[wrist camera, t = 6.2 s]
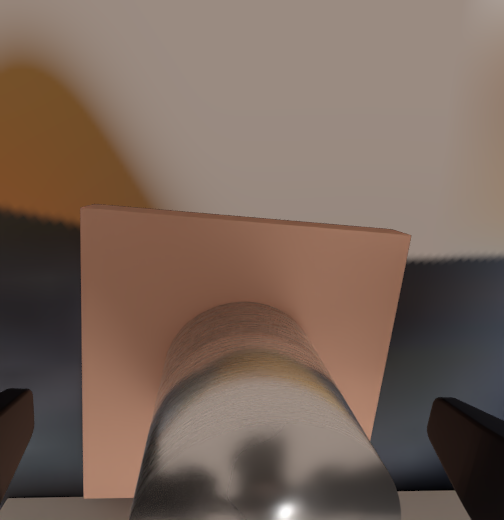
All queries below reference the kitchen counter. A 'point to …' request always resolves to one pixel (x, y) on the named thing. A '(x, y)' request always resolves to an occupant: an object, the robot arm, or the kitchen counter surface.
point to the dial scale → (118, 509)
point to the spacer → (255, 429)
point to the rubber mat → (213, 294)
